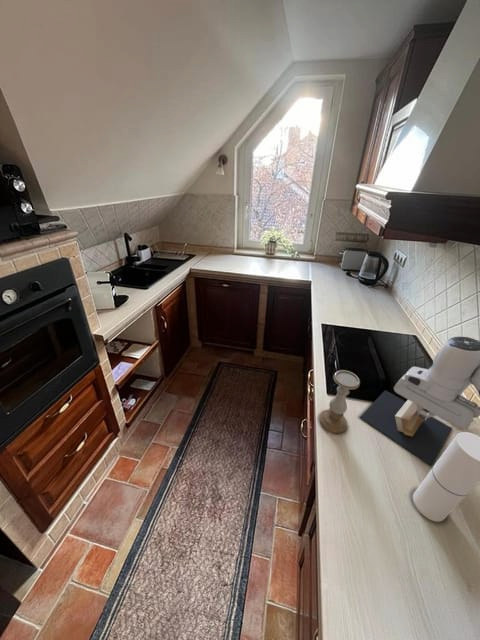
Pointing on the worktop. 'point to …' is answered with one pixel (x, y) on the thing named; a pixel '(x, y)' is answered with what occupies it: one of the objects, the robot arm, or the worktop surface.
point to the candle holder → (339, 402)
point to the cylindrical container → (450, 478)
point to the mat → (422, 442)
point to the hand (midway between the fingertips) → (421, 416)
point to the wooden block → (408, 418)
